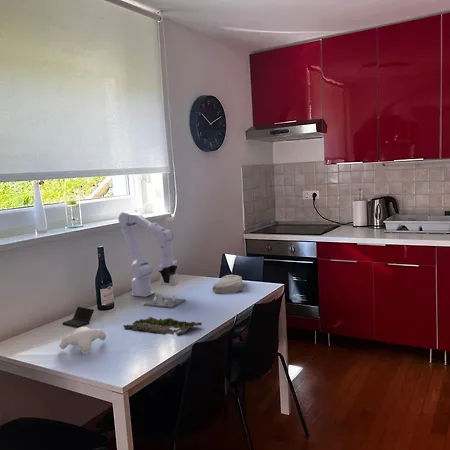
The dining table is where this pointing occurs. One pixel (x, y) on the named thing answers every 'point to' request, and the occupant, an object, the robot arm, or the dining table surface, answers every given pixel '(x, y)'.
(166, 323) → the miniature landscape
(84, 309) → the handheld gaming console
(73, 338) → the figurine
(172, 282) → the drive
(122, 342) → the dining table surface
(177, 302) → the grey knobbed plate
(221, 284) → the stone
